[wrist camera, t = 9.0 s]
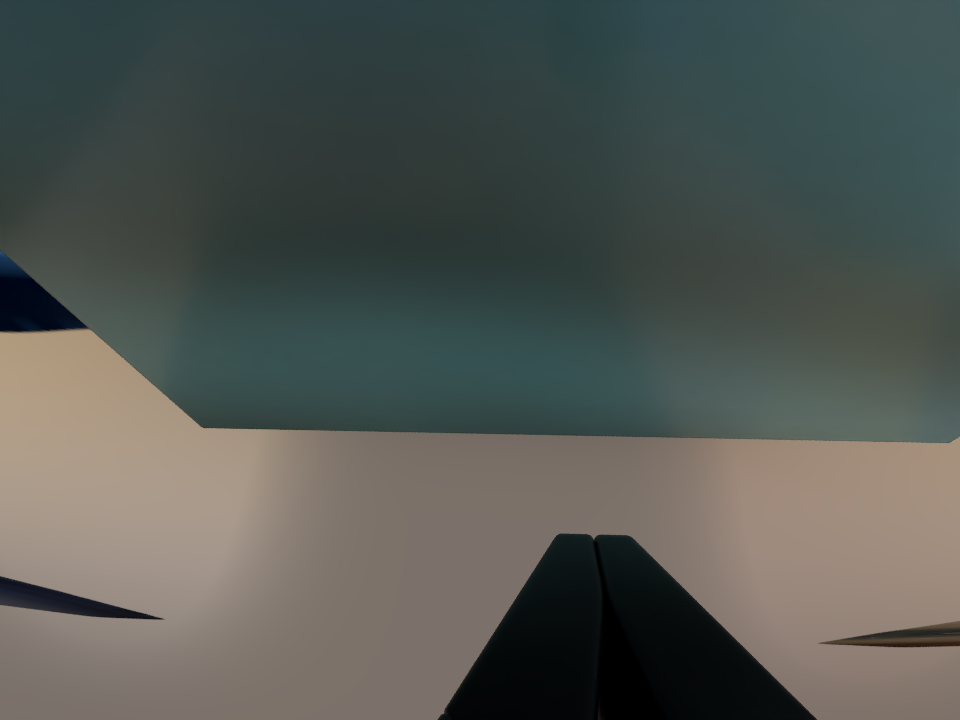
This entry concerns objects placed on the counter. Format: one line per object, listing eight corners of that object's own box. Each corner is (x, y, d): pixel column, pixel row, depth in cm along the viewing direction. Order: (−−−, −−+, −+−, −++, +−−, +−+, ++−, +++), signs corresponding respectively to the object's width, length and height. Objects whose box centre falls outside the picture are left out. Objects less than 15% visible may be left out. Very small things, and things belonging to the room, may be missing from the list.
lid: (941, 407, 16) (950, 444, 16) (208, 394, 17) (201, 429, 16) (2096, -425, 4) (2230, -351, 4) (-497, -311, 5) (-566, -244, 5)
